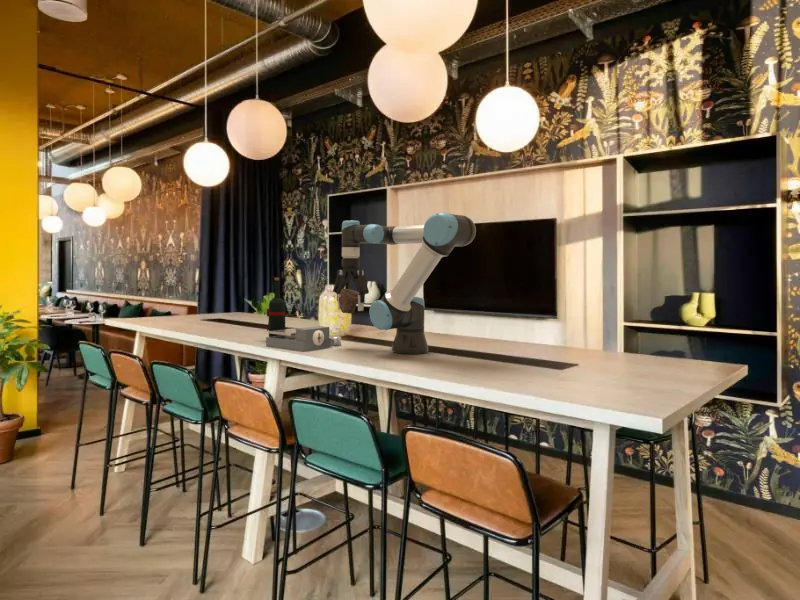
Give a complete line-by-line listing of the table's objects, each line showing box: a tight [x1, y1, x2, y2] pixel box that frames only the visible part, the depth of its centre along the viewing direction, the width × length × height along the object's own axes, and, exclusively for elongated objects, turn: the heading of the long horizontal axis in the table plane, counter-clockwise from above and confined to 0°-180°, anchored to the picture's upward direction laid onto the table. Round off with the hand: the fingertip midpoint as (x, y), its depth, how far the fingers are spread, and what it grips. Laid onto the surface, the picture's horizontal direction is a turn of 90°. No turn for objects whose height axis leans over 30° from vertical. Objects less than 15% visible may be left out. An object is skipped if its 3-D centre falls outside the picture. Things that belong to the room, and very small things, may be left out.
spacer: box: [330, 335, 342, 347], centre depth 242 cm, size 5×5×4 cm
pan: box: [268, 327, 297, 336], centre depth 240 cm, size 14×14×2 cm
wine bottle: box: [266, 277, 286, 337], centre depth 253 cm, size 8×10×30 cm
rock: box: [337, 288, 359, 314], centre depth 229 cm, size 12×10×10 cm
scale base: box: [265, 325, 332, 352], centre depth 237 cm, size 25×16×9 cm, turn 53°
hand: (350, 309), depth 229 cm, fingers closed on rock, 11 cm apart
